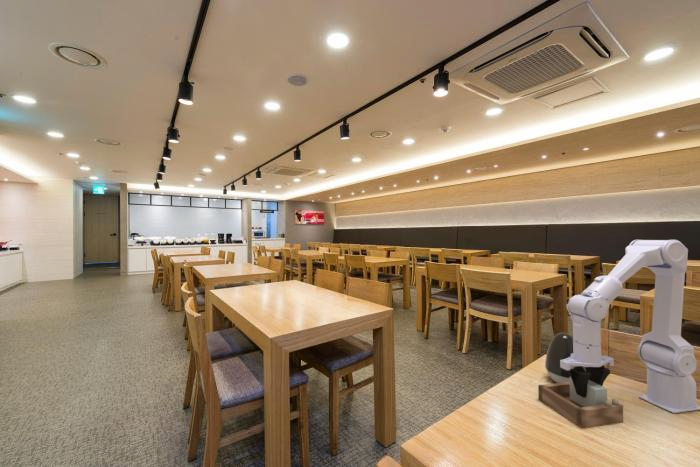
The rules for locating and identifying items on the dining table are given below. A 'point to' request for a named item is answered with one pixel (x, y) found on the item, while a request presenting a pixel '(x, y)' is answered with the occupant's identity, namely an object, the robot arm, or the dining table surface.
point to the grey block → (589, 394)
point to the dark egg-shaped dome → (559, 357)
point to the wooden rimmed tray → (579, 407)
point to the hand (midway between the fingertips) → (587, 394)
